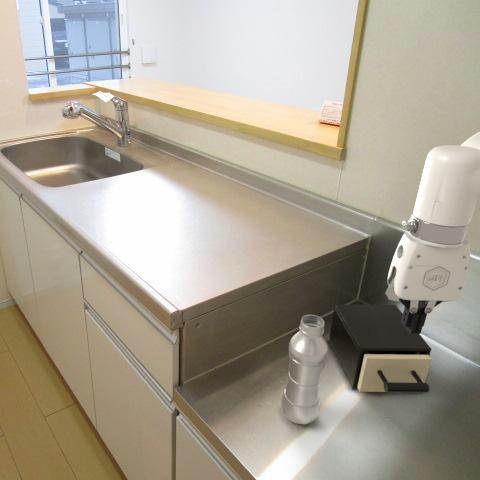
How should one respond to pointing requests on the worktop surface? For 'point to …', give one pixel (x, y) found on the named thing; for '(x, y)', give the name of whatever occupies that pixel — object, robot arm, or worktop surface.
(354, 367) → the black rectangular box
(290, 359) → the plastic bottle
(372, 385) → the beige drawer
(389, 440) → the worktop surface
